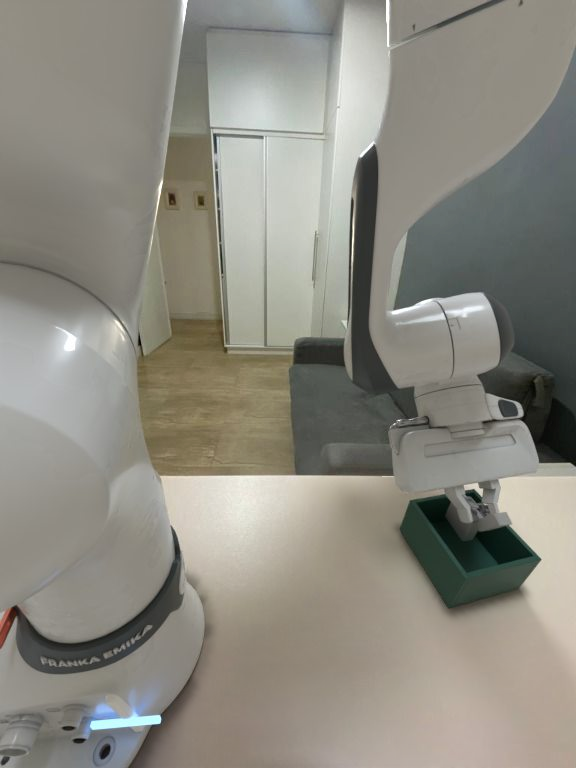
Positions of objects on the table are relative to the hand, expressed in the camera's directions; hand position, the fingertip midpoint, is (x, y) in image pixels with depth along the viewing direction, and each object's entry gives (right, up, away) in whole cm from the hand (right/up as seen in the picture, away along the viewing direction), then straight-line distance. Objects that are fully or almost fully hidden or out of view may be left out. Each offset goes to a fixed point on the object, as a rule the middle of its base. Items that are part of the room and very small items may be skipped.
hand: (480, 519), depth 39 cm
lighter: (0, -4, +3) cm, 5 cm away
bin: (-1, -7, +5) cm, 9 cm away
